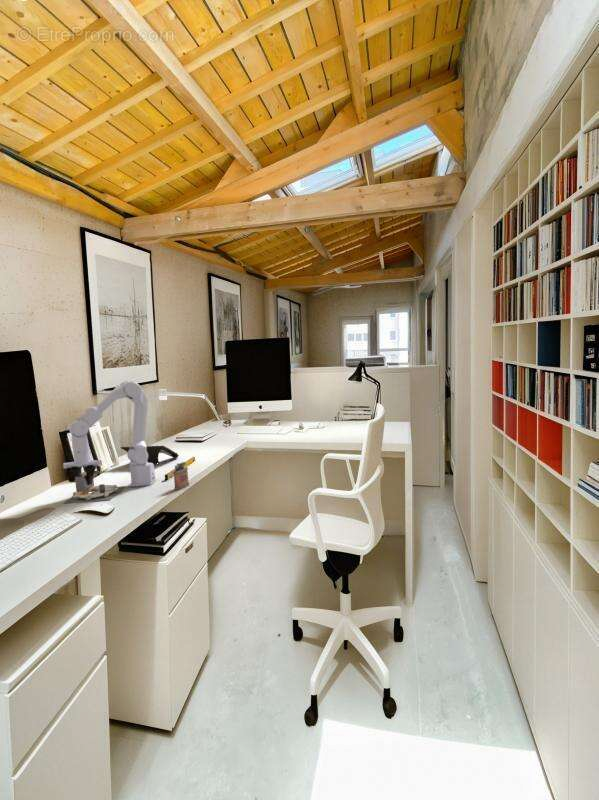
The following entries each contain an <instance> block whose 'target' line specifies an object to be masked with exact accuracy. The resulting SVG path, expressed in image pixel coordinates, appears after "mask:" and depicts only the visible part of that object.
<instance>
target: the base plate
mask: <svg viewBox="0 0 599 800" xmlns="http://www.w3.org/2000/svg"><path fill="white" fill-rule="evenodd" d="M127 487H128V486H127V485H122V486H117V488H118V492H114V493H112V494H110V495H109V496H107V497H100V498H94V499H91V500H86V499H77V500H75V499H74V496H73V495H72V496H71V497H69V498H68V499H66V500H65V501H64V502H62V504H64V505H65V504H76V503H77V504H78V503H91V502H105V501H111V500H112V499H114V498H115V497H116V496H117V495H118V494H120V493H121V492H122V491H124V489H125V488H127Z"/></svg>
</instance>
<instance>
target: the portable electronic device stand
mask: <svg viewBox="0 0 599 800" xmlns="http://www.w3.org/2000/svg"><path fill="white" fill-rule="evenodd" d="M146 446H147V453H148V460H147V462H148V463H153V465H158V464H157V463H159V464H160V462H159V455H160V454H164V455H167V456H170V457H172V458H173V459H178V457H179V456H180V455H179V454H178V453H177V452H175V451H174V450H172V449H171V448H168V447H167V446H165V445H146ZM120 449H121V450H123V451H125V452H127V453H128V450H129V449H130V446H120Z"/></svg>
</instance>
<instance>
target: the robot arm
mask: <svg viewBox="0 0 599 800" xmlns="http://www.w3.org/2000/svg"><path fill="white" fill-rule="evenodd" d="M125 398H128V399H129V400H130V401H131V402H132V403H133V404H134V412H133V426H132V436H131V437H132V440H131V442H130V444H129V447H130V449H129V450H128V452H127V458H128V460H129V461H130V462H129V471H130V472H129V473H130V481H131V483H130V484H129V485H128V486H127V487H130V488H131V487H142V486H144V487H145V486H152V485H153V483H155V482H156V481H157V479H156V472H155V466H154V465H155V464H153V463H148V462H147V460H148V453H147V446H148V445H147V444H146V431H147V418H148V417H147V416H148V405H149V403H148V402H149V401H148V397H147V396H146V394H145V392H144V390H143V387H142V386H141V385H140V384H139V383H138V382H137V381H127V380H126V381H123V382H121V383H119V385H117V386H115V387H114V389H113V390H111V391H110V392H109V394H107V395H106V396H105V398H103V399H102V401H100V402H99V404H97V405H96V406H91V407H90V408H89V407H87V408H86V409H85V412H84V413H83V414H82V415H81V416H77V418H76V420H75V421H73V422H72V423H70V425H69V428H68V431H69V433H70V434H71V445H72V453H73V461H71V462H63V464H62V467H63V469H70V470H69V472H70V473H71V475H72V476H73V477H74V478H75V477H76V476H78V475H79V474H81V473H82V469H83V468H84V472H86V474H87V481H88V485H90V484H92V479H93V480H94V474H95V471H96V469H97V467H101V466H102V465H103V460H101V459H100V460H96V459H95V460H94V459H91V457H90V456H91V455H90V446H89V445H90V444H89V439H88V432H89V429H91V428H92V427H93V426H94V425H95V424H96V423H98V421H99V420H100V419H102V417H103V412H104V411H106V410H107V409H108V408H109V407H110V406H112V405H113V404H114V403H115V402H116V401H117V400H119V399H120V400H121V399H125Z"/></svg>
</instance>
